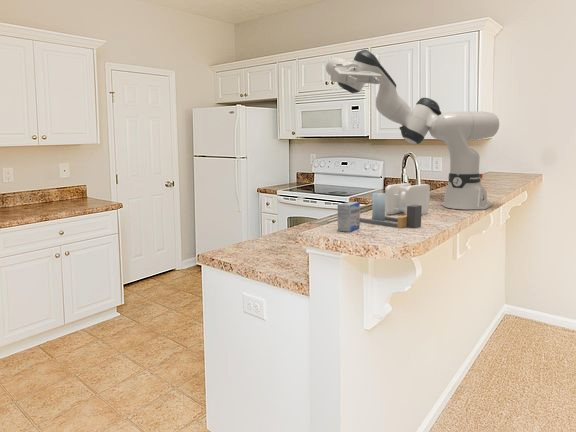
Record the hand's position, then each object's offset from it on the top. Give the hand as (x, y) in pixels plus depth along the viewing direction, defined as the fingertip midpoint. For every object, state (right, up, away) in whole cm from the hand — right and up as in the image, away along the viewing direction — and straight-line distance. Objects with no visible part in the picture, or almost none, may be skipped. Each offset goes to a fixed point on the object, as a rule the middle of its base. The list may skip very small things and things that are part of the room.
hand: (367, 81), depth 180 cm
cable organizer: (+15, -52, -2) cm, 54 cm away
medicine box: (-11, -57, -29) cm, 65 cm away
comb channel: (+5, -55, -20) cm, 58 cm away
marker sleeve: (+1, -54, -16) cm, 56 cm away
